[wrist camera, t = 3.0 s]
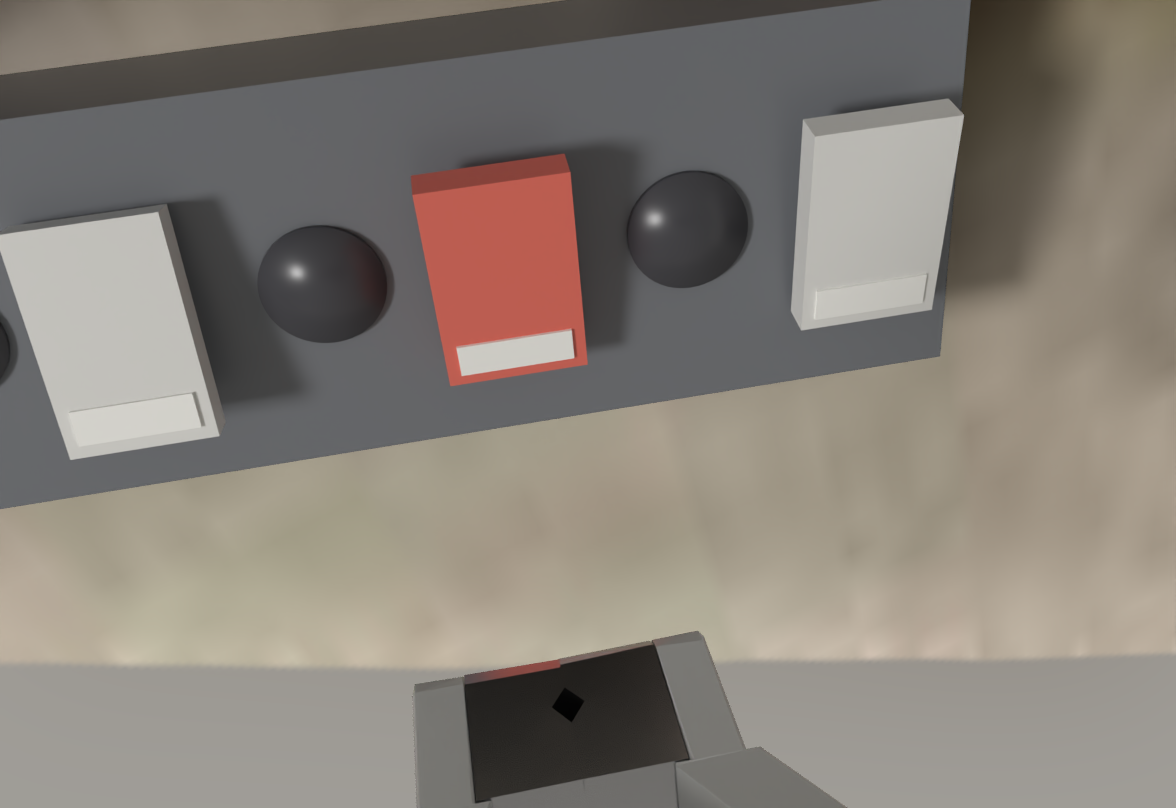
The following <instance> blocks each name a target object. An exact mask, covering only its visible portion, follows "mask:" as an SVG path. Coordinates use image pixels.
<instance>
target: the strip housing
mask: <svg viewBox="0 0 1176 808" xmlns="http://www.w3.org/2000/svg"><path fill="white" fill-rule="evenodd" d="M970 3H971V0H566V1H558V2H551V3H543V4H536V5H528V6H521V7H513V8H505V9H498V10H490V11H483V12H475V13H468V14H460V15H453V16H445V17H438V18H430V19H422V20H415V21H407V22H400V23H392V24H385V25H377V26H370V27H362V28H355V29H347V30H339V31H332V32H324V33H317V34H309V35H302V36H294V37H287V38H279V39H272V40H264V41H256V42H249V43H241V44H234V45H226V46H219V47H211V48H204V49H196V50H189V51H181V52H173V53H166V54H158V55H151V56H143V57H136V58H128V59H121V60H113V61H106V62H98V63H90V64H83V65H75V66H68V67H60V68H53V69H45V70H38V71H30V72H23V73H15V74H7V75H0V232H1V231H3V230H4V229H6V228H7V227H9V226H15V225H22V224H29V223H36V222H43V221H50V220H57V219H64V218H71V217H78V216H85V215H92V214H99V213H106V212H113V211H120V210H127V209H134V208H141V207H148V206H155V205H162V204H167V207H168V210H169V214H170V218H171V221H172V225H173V229H174V232H175V236H176V240H177V244H178V247H179V251H180V255H181V258H182V262H183V266H184V269H185V273H186V277H187V280H188V284H189V288H190V292H191V295H192V299H193V303H194V306H195V310H196V314H197V317H198V321H199V325H200V329H201V332H202V336H203V340H204V343H205V347H206V351H207V354H208V358H209V362H210V365H211V369H212V373H213V377H214V380H215V384H216V388H217V391H218V395H219V399H220V402H221V406H222V410H223V414H224V417H225V421H226V423H225V425H224V427H223V429H222V432H221V434H220V436H217V437H211V438H205V439H199V440H192V441H186V442H180V443H174V444H167V445H161V446H155V447H149V448H142V449H136V450H130V451H124V452H117V453H111V454H105V455H99V456H92V457H86V458H80V459H74V460H70V457H69V454H68V451H67V448H66V445H65V442H64V439H63V436H62V434H61V431H60V428H59V425H58V422H57V419H56V416H55V413H54V410H53V407H52V404H51V401H50V398H49V395H48V392H47V389H46V386H45V383H44V380H43V377H42V374H41V371H40V368H39V365H38V362H37V359H36V356H35V353H34V350H33V347H32V344H31V341H30V338H29V335H28V332H27V329H26V326H25V324H24V321H23V318H22V315H21V312H20V309H19V306H18V303H17V300H16V297H15V294H14V291H13V288H12V285H11V282H10V279H9V276H8V273H7V270H6V267H5V264H4V261H3V258H2V255H1V252H0V509H4V508H10V507H16V506H22V505H29V504H35V503H41V502H47V501H53V500H59V499H65V498H72V497H78V496H84V495H90V494H96V493H102V492H108V491H115V490H121V489H127V488H133V487H139V486H145V485H151V484H158V483H164V482H170V481H176V480H182V479H188V478H195V477H201V476H207V475H213V474H219V473H225V472H231V471H238V470H244V469H250V468H256V467H262V466H268V465H274V464H281V463H287V462H293V461H299V460H305V459H311V458H317V457H324V456H330V455H336V454H342V453H348V452H354V451H361V450H367V449H373V448H379V447H385V446H391V445H397V444H404V443H410V442H416V441H422V440H428V439H434V438H440V437H447V436H453V435H459V434H465V433H471V432H477V431H483V430H490V429H496V428H502V427H508V426H514V425H520V424H527V423H533V422H539V421H545V420H551V419H557V418H563V417H570V416H576V415H582V414H588V413H594V412H600V411H606V410H613V409H619V408H625V407H631V406H637V405H643V404H649V403H656V402H662V401H668V400H674V399H680V398H686V397H692V396H699V395H705V394H711V393H717V392H723V391H729V390H736V389H742V388H748V387H754V386H760V385H766V384H772V383H779V382H785V381H791V380H797V379H803V378H809V377H815V376H822V375H828V374H834V373H840V372H846V371H852V370H858V369H865V368H871V367H877V366H883V365H889V364H895V363H902V362H908V361H914V360H920V359H926V358H932V357H938V356H940V351H941V339H942V328H943V316H944V304H945V293H946V281H947V270H948V258H949V247H950V235H951V223H952V212H953V200H954V189H955V177H956V167H955V173H954V179H953V185H952V191H951V197H950V203H949V209H948V215H947V221H946V227H945V233H944V239H943V245H942V251H941V257H940V263H939V269H938V275H937V281H936V287H935V293H934V299H933V305H932V310H927V311H921V312H915V313H908V314H902V315H896V316H890V317H883V318H877V319H871V320H864V321H858V322H852V323H846V324H839V325H833V326H827V327H820V328H814V329H808V330H802V331H801V329H800V327H799V325H798V324H797V322H796V320H795V318H794V316H793V314H792V312H791V301H792V285H793V270H794V254H795V238H796V222H797V206H798V190H799V174H800V159H801V143H802V127H803V119H809V118H816V117H823V116H830V115H837V114H844V113H851V112H858V111H865V110H872V109H878V108H885V107H892V106H899V105H906V104H913V103H920V102H927V101H934V100H941V99H949V100H950V101H951V102H952V103H953V104H954V105H955V106H956V107H957V108H958V109H959V110H960V111H961V108H962V96H963V84H964V73H965V61H966V50H967V38H968V26H969V15H970ZM558 154H565V157H566V160H567V163H568V166H569V169H570V173H571V184H572V195H573V206H574V217H575V229H576V240H577V251H578V262H579V273H580V284H581V295H582V306H583V317H584V328H585V339H586V351H587V362H588V365H582V366H575V367H569V368H563V369H556V370H550V371H544V372H538V373H531V374H525V375H519V376H512V377H506V378H500V379H494V380H487V381H481V382H475V383H468V384H462V385H456V386H450V382H449V377H448V372H447V367H446V362H445V357H444V352H443V347H442V342H441V337H440V332H439V327H438V322H437V316H436V311H435V306H434V301H433V296H432V291H431V286H430V281H429V276H428V271H427V266H426V261H425V256H424V251H423V246H422V241H421V236H420V231H419V226H418V221H417V216H416V211H415V206H414V201H413V196H412V185H411V176H412V175H419V174H426V173H433V172H440V171H447V170H454V169H461V168H468V167H475V166H481V165H488V164H495V163H502V162H509V161H516V160H523V159H530V158H537V157H544V156H551V155H558ZM956 165H957V161H956Z"/></svg>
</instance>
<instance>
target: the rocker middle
mask: <svg viewBox="0 0 1176 808" xmlns="http://www.w3.org/2000/svg"><path fill="white" fill-rule="evenodd" d="M411 185H412V196H413V201H414V206H415V211H416V216H417V221H418V226H419V231H420V236H421V241H422V246H423V251H424V256H425V261H426V266H427V271H428V276H429V281H430V286H431V291H432V296H433V301H434V306H435V311H436V316H437V322H438V327H439V332H440V337H441V342H442V347H443V352H444V357H445V362H446V367H447V372H448V377H449V382H450V386H456V385H462V384H468V383H475V382H481V381H487V380H494V379H500V378H506V377H512V376H519V375H525V374H531V373H538V372H544V371H550V370H556V369H563V368H569V367H575V366H582V365H588V362H587V351H586V339H585V328H584V317H583V306H582V295H581V284H580V273H579V262H578V251H577V240H576V229H575V217H574V206H573V195H572V184H571V173H570V169H569V166H568V163H567V160H566V157H565V154H558V155H551V156H544V157H537V158H530V159H523V160H516V161H509V162H502V163H495V164H488V165H481V166H475V167H468V168H461V169H454V170H447V171H440V172H433V173H426V174H419V175H412V176H411Z"/></svg>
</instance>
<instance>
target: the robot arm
mask: <svg viewBox="0 0 1176 808" xmlns="http://www.w3.org/2000/svg"><path fill="white" fill-rule="evenodd" d="M412 701H413V727H414V752H415V777H416V803H417V808H847V807H845V806H844V805H843V804H841V803H840V802H838V801H837V800H836V799H834V798H832V797H831V796H830V795H828V794H827V793H825V792H824V791H823V790H821V789H820V788H818V787H817V786H816V785H814V784H813V783H811V782H810V781H809V780H807V779H806V778H804V777H803V776H801V775H800V774H799V773H797V772H795V771H794V770H793V769H791V768H790V767H789V766H787V765H786V764H784V763H783V762H781V761H780V760H779V759H777V758H776V757H774V756H773V755H772V754H770V753H769V752H767V751H766V750H764V749H763V748H762V747H755V748H750V749H746V748H745V745H744V743H743V740H742V737H741V735H740V732H739V729H738V727H737V724H736V721H735V718H734V716H733V713H732V710H731V708H730V705H729V702H728V700H727V697H726V695H725V692H724V689H723V687H722V684H721V681H720V679H719V676H718V673H717V670H716V668H715V665H714V662H713V660H712V657H711V654H710V652H709V649H708V646H707V644H706V641H705V638H704V636H703V635H702V634H701V633H699V632H698V631H694V632H689V633H684V634H679V635H674V636H669V637H665V638H660V639H655V640H652V642H650V641H646V642H641V643H636V644H631V645H626V646H621V647H616V648H611V649H606V650H601V651H596V652H591V653H586V654H581V655H576V656H571V657H566V658H561V659H558V660H553V661H547V662H541V663H535V664H529V665H523V666H517V667H511V668H505V669H499V670H493V671H487V672H481V673H475V674H469V675H465V676H464V677H458V678H452V679H445V680H439V681H433V682H426V683H420V684H415V687H414V691H413V696H412Z"/></svg>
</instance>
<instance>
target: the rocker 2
mask: <svg viewBox="0 0 1176 808" xmlns="http://www.w3.org/2000/svg"><path fill="white" fill-rule="evenodd" d="M963 119H964V114H963V113H962V112H961V111H960V110H959V109H958V108H957V107H956V106H955V105H954V104H953V103H952V102H951V101H950V100H949V99H941V100H934V101H927V102H920V103H913V104H906V105H899V106H892V107H885V108H878V109H872V110H865V111H858V112H851V113H844V114H837V115H830V116H823V117H816V118H809V119H803V127H802V143H801V159H800V174H799V190H798V206H797V222H796V238H795V254H794V270H793V285H792V301H791V312H792V314H793V316H794V318H795V320H796V322H797V324H798V325H799V327H800V329H801V331H802V330H808V329H814V328H820V327H827V326H833V325H839V324H846V323H852V322H858V321H864V320H871V319H877V318H883V317H890V316H896V315H902V314H908V313H915V312H921V311H927V310H932V305H933V299H934V293H935V287H936V281H937V275H938V269H939V263H940V257H941V251H942V245H943V239H944V233H945V227H946V221H947V215H948V209H949V203H950V197H951V191H952V185H953V179H954V173H955V167H956V161H957V155H958V149H959V143H960V137H961V131H962V125H963Z"/></svg>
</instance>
